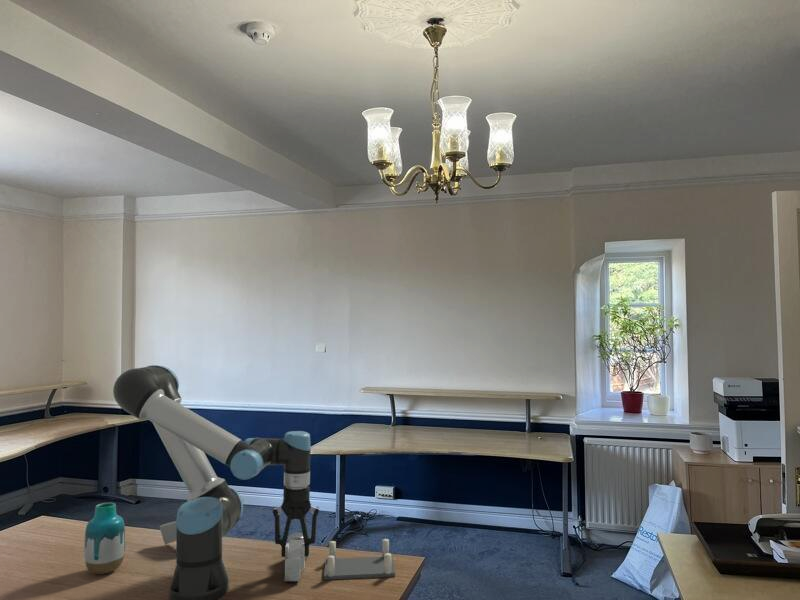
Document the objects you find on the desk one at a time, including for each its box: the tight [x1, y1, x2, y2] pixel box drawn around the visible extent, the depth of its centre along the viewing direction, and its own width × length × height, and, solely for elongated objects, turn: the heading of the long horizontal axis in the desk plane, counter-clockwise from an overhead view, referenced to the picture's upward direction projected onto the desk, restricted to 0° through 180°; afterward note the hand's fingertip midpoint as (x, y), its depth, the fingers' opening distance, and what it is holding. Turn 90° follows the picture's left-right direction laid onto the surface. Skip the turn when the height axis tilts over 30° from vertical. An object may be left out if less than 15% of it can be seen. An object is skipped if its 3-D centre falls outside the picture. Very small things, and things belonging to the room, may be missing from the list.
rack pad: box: [323, 538, 396, 581], centre depth 170 cm, size 20×13×6 cm, turn 95°
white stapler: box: [159, 520, 176, 545], centre depth 187 cm, size 4×10×15 cm
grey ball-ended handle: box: [284, 532, 308, 582], centre depth 170 cm, size 20×6×6 cm, turn 5°
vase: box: [83, 501, 126, 575], centre depth 170 cm, size 11×11×19 cm
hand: (294, 567), depth 168 cm, fingers closed on grey ball-ended handle, 4 cm apart
